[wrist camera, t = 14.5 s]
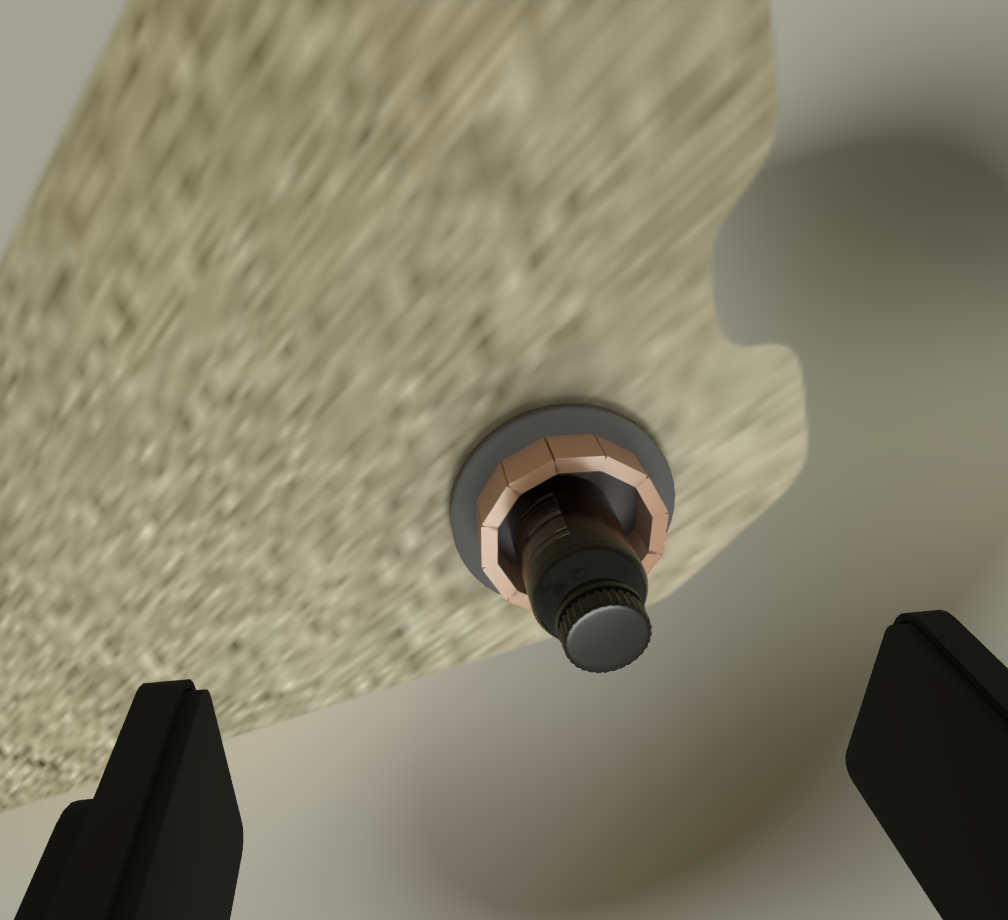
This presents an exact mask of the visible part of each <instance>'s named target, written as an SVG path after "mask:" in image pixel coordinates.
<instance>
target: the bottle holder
mask: <svg viewBox="0 0 1008 920" xmlns="http://www.w3.org/2000/svg"><path fill="white" fill-rule="evenodd" d="M558 475H572V476H578V477H581V478H584V479H587V480H589V481H590V482H592V483H594V484H595V485H596V486H598V487H599V488H600V489H601V491H602V492H603V493H604V495H605V496H606V498H607V499H608V501H609V503H610V505H611V506H612V508H613V510H614V512H615V514H616V516H617V518H618V519H619V521H620V523H621V525H622V527H623V529H624V531H625V532H626V534H627V536H628V538H629V540H630V542H631V544H632V546H633V547H634V549H635V551H636V553H637V555H638V557H639V559H640V561H641V563H642V564H643V567H644V569H645V571H646V574H647V575H648V574H649V572H650V571H651V570H652V568H653V567H654V566H655V565H656V563H657V562H658V561H659V559H660V558H661V557H662V553H664V545H665V537H666V533H667V531H668V528H669V526H670V523H671V520H672V515H673V510H674V501H675V492H674V482H673V478H672V474H671V470H670V468H669V466H668V463H667V461H666V459H665V457H664V456H663V454H662V453H661V451H660V449H659V448H658V446H657V445H656V444H655V442H654V441H653V440H652V439H651V437H650V436H649V435H648V434H647V433H646V432H645V431H644V430H643V429H642V428H641V427H640V426H638V425H637V424H636V423H635V422H633V421H632V420H630V419H628V418H627V417H625V416H623V415H621V414H619V413H616V412H614V411H612V410H609V409H605V408H602V407H598V406H593V405H585V404H560V405H552V406H547V407H543V408H539V409H535V410H532V411H529V412H527V413H524V414H521V415H519V416H517V417H515V418H513V419H511V420H509V421H507V422H506V423H504V424H503V425H501V426H500V427H498V428H497V429H495V430H494V431H493V432H491V433H490V434H489V435H488V436H487V437H486V438H484V439H483V440H482V441H481V442H480V443H479V445H478V446H477V447H476V448H475V449H474V450H473V451H472V453H471V454H470V455H469V457H468V458H467V460H466V461H465V463H464V464H463V466H462V468H461V470H460V472H459V474H458V476H457V479H456V482H455V485H454V488H453V493H452V498H451V511H450V514H451V523H452V531H453V537H454V541H455V544H456V548H457V550H458V552H459V554H460V557H461V559H462V560H463V562H464V563H465V565H466V567H467V568H468V569H469V571H470V572H471V573H472V574H473V575H474V576H475V577H476V578H477V579H478V580H479V581H480V582H482V583H483V584H484V585H485V586H486V587H488V588H490V589H491V590H493V591H494V592H496V593H498V594H500V595H502V596H503V598H504V599H505V600H507V602H510V603H512V604H515V605H518V606H520V607H523V608H525V609H528V610H531V611H532V608H531V605H530V602H529V598H528V595H527V592H526V588H525V585H524V581H523V578H522V574H521V571H520V567H519V564H518V560H517V557H516V554H515V550H514V547H513V543H512V539H511V535H510V528H509V521H510V515H511V512H512V509H513V507H514V505H515V503H516V501H517V500H518V498H519V497H520V496H521V495H522V494H523V493H524V492H526V491H528V490H529V489H531V488H533V487H535V486H536V485H538V484H540V483H542V482H544V481H545V480H547V479H549V478H551V477H553V476H558Z"/></svg>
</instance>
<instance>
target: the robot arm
mask: <svg viewBox="0 0 1008 920" xmlns="http://www.w3.org/2000/svg"><path fill="white" fill-rule="evenodd" d="M846 766H847V770H848V773H849V776H850V778H851V779H852V781H853V783H854V784H855V786H856V787H857V789H858V790H859V792H860V793H861V795H862V797H863V798H864V800H865V801H866V803H867V804H868V806H869V807H870V809H871V810H872V812H873V813H874V815H875V817H876V818H877V819H878V821H879V823H880V824H881V826H882V827H883V829H884V830H885V832H886V833H887V835H888V836H889V838H890V839H891V841H892V843H893V844H894V846H895V847H896V849H897V850H898V852H899V853H900V855H901V856H902V858H903V859H904V861H905V862H906V864H907V866H908V867H909V869H910V870H911V871H912V873H913V875H914V876H915V878H916V879H917V881H918V882H919V884H920V885H921V887H922V888H923V890H924V892H925V893H926V895H927V896H928V897H929V899H930V901H931V902H932V904H933V905H934V907H935V908H936V910H937V911H938V913H939V914H940V916H941V918H942V919H943V920H1008V668H1007V667H1006V666H1005V665H1003V663H1002V662H1000V661H999V660H998V659H997V658H996V657H995V656H994V655H993V654H992V653H991V652H990V651H989V650H988V649H987V648H986V647H985V646H984V645H983V644H982V643H981V642H980V641H979V640H978V639H977V638H976V637H975V636H974V635H973V634H971V633H970V632H969V631H968V630H967V629H966V628H965V627H964V626H963V625H962V624H961V623H960V622H959V621H958V620H957V619H956V618H955V617H954V616H952V615H951V614H950V613H948V612H946V611H943V610H933V611H922V612H912V613H903V614H900V615H899V616H898V617H897V618H896V620H895V621H894V623H893V625H890V626H889V627H887V629H886V631H885V634H884V637H883V640H882V643H881V646H880V649H879V652H878V655H877V658H876V661H875V664H874V667H873V671H872V674H871V677H870V680H869V683H868V687H867V689H866V692H865V695H864V698H863V702H862V705H861V708H860V711H859V714H858V717H857V720H856V723H855V726H854V730H853V733H852V736H851V739H850V742H849V745H848V748H847V751H846ZM242 850H243V826H242V821H241V817H240V813H239V809H238V805H237V800H236V796H235V792H234V788H233V784H232V780H231V776H230V772H229V768H228V764H227V760H226V756H225V752H224V748H223V744H222V740H221V736H220V731H219V727H218V723H217V719H216V715H215V711H214V707H213V703H212V699H211V695H210V693H209V691H208V690H207V689H205V690H196V688H195V686H194V683H193V682H192V681H191V680H190V679H186V680H176V681H165V682H154V683H143V684H142V685H141V686H140V687H139V689H138V690H137V692H136V694H135V697H134V699H133V702H132V704H131V707H130V709H129V712H128V714H127V717H126V719H125V721H124V724H123V726H122V729H121V731H120V734H119V736H118V739H117V741H116V744H115V746H114V749H113V751H112V754H111V756H110V759H109V761H108V764H107V766H106V768H105V771H104V773H103V776H102V778H101V781H100V783H99V786H98V789H97V791H96V793H95V796H94V798H93V799H86V800H78V801H75V802H72V803H70V805H69V806H68V807H67V808H66V809H65V810H64V811H63V812H62V814H61V816H60V818H59V820H58V822H57V823H56V825H55V828H54V830H53V832H52V834H51V837H50V839H49V841H48V843H47V846H46V848H45V850H44V853H43V855H42V857H41V860H40V862H39V864H38V866H37V869H36V871H35V873H34V875H33V878H32V880H31V882H30V884H29V887H28V889H27V891H26V893H25V896H24V898H23V900H22V902H21V905H20V907H19V909H18V912H17V914H16V916H15V918H14V920H230V916H231V911H232V905H233V900H234V895H235V889H236V884H237V878H238V873H239V868H240V862H241V857H242Z"/></svg>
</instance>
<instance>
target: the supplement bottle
mask: <svg viewBox="0 0 1008 920" xmlns="http://www.w3.org/2000/svg"><path fill="white" fill-rule="evenodd" d="M509 528H510V535H511V539H512V543H513V547H514V550H515V554H516V557H517V560H518V564H519V567H520V571H521V574H522V578H523V581H524V585H525V588H526V592H527V595H528V598H529V602H530V605H531V608H532V611H533V614H534V616H535V618H536V620H537V622H538V623H539V624H540V626H541V627H542V628H543V629H544V630H545V631H546V632H548V633H549V634H550V635H552V636H553V637H555V638H557V639H559V640H560V642H561V643H562V647H563V649H564V652H565V655H566V656H567V658H568V659H569V660H570V662H571V663H573V664H575V666H576V667H578V668H581V669H582V670H585V671H586V670H587V671H588V672H596V673H601V672H604V673H607V672H609V671H615V670H617V669H620V668H623V667H625V666H626V665H629V664H631V663H632V662H633V661H634V660H636V659H637V658H638V657H639V656H640V655H641V654H643V652H644V650H645V649H646V648H647V646H648V643H649V642H650V637H651V635H652V632H651V628H652V626H651V624H650V619H649V617H648V615H647V613H646V611H645V606H644V605H645V602H646V599H647V594H648V579H647V574H646V571H645V569H644V567H643V564H642V563H641V561H640V559H639V557H638V555H637V553H636V551H635V549H634V547H633V546H632V544H631V542H630V540H629V538H628V536H627V534H626V532H625V531H624V529H623V527H622V525H621V523H620V521H619V519H618V518H617V516H616V514H615V512H614V510H613V508H612V506H611V505H610V503H609V501H608V499H607V498H606V496H605V495H604V493H603V492H602V491H601V489H600V488H599V487H598V486H596V485H595V484H594V483H592V482H590V481H589V480H587V479H584V478H581V477H578V476H572V475H558V476H553V477H551V478H549V479H547V480H545V481H544V482H542V483H540V484H538V485H536V486H535V487H533V488H531V489H529V490H528V491H526V492H524V493H523V494H522V495H521V496H520V497H519V498H518V500H517V501H516V503H515V505H514V507H513V509H512V512H511V515H510V521H509Z"/></svg>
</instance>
